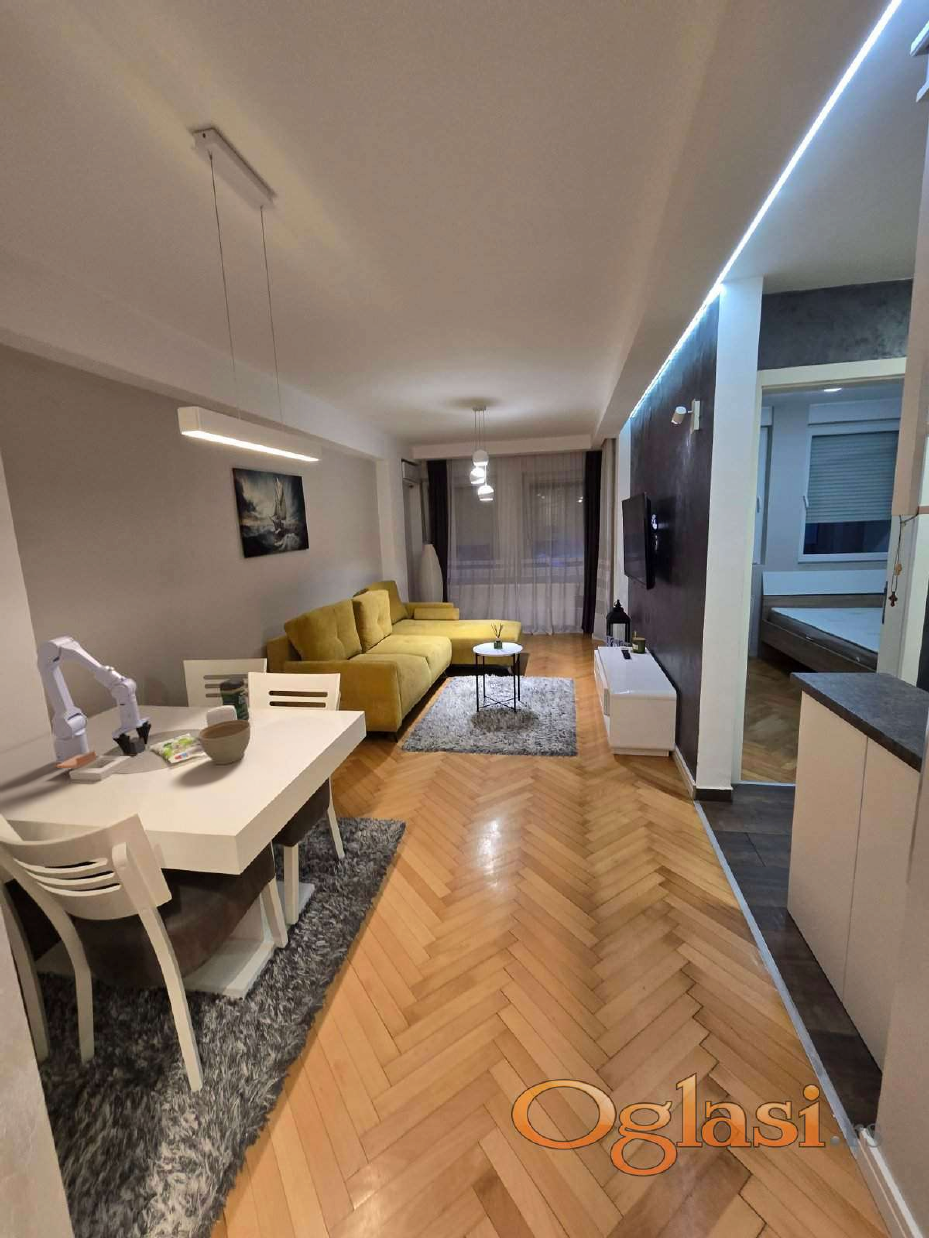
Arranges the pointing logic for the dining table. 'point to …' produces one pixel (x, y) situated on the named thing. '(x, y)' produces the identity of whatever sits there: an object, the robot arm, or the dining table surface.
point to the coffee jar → (235, 696)
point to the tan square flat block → (78, 760)
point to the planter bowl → (225, 740)
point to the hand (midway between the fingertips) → (135, 748)
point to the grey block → (136, 745)
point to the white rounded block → (221, 714)
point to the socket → (96, 772)
